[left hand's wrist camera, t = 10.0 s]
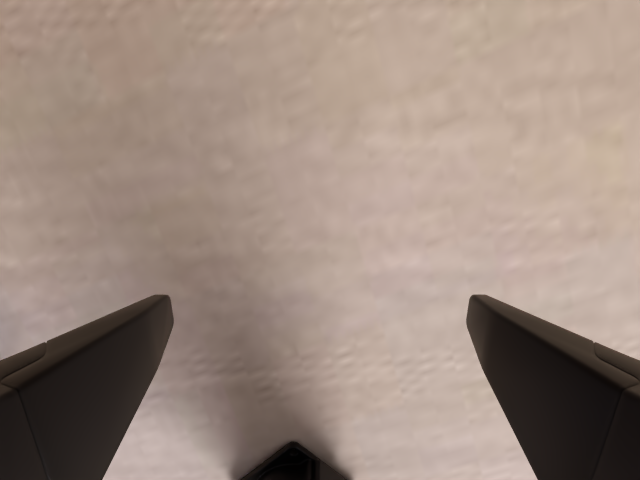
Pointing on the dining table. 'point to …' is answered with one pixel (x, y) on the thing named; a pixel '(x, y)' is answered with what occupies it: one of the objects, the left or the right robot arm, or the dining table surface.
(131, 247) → the dining table surface
